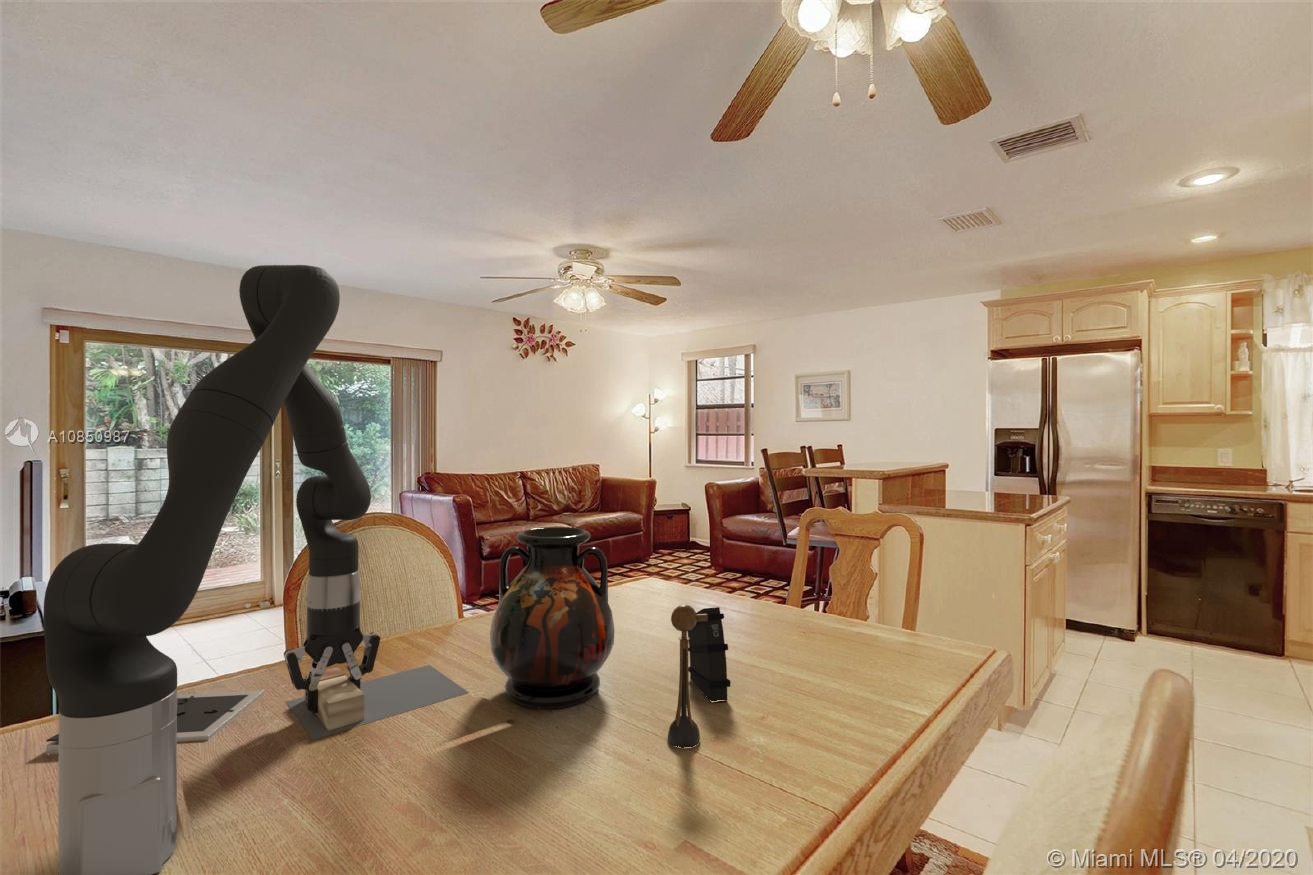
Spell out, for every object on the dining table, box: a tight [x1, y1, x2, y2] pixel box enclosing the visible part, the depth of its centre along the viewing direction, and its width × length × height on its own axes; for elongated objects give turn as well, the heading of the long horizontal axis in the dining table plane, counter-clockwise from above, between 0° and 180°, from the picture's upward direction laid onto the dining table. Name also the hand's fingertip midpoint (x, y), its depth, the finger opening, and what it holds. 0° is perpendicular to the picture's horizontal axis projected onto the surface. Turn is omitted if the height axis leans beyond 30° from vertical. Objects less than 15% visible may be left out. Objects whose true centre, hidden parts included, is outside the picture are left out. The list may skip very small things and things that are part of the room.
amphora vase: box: [489, 526, 615, 710], centre depth 106 cm, size 22×22×28 cm
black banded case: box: [687, 606, 731, 701], centre depth 107 cm, size 4×13×15 cm, turn 17°
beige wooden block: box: [304, 666, 364, 730], centre depth 97 cm, size 14×5×4 cm, turn 43°
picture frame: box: [45, 689, 265, 756], centre depth 93 cm, size 16×3×21 cm
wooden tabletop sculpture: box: [667, 604, 708, 748], centre depth 89 cm, size 6×5×20 cm
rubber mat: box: [285, 664, 470, 741], centre depth 101 cm, size 17×24×1 cm
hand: (333, 705), depth 97 cm, fingers closed on beige wooden block, 5 cm apart
